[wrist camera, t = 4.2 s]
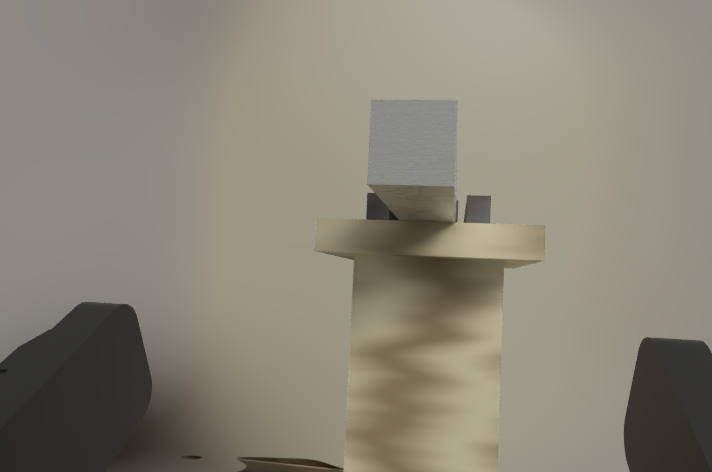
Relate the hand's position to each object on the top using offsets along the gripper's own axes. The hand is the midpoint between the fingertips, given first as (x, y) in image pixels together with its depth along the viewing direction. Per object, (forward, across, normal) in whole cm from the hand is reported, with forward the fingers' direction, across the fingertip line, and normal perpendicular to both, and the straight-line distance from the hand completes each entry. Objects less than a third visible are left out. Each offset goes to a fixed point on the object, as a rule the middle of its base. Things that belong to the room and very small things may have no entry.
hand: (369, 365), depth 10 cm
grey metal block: (+18, 0, +6) cm, 19 cm away
